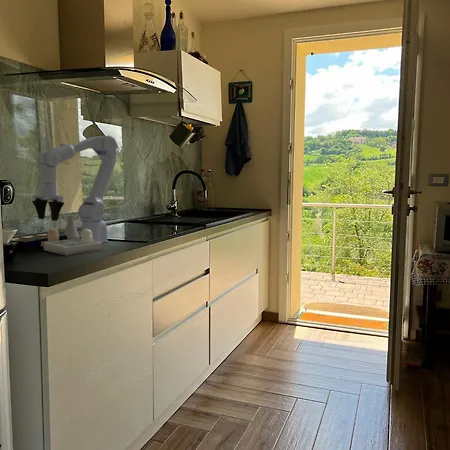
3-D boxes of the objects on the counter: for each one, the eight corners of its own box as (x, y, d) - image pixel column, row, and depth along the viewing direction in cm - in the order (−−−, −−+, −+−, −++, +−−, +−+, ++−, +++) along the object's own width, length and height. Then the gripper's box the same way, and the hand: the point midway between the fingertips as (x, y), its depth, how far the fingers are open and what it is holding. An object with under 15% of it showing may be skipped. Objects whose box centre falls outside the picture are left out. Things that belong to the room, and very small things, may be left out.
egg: (55, 244, 179) (55, 227, 178) (61, 246, 177) (60, 228, 176) (46, 245, 176) (45, 228, 175) (51, 247, 174) (51, 229, 173)
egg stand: (57, 243, 181) (57, 240, 181) (66, 245, 177) (66, 242, 177) (40, 245, 176) (40, 242, 176) (49, 248, 172) (49, 244, 171)
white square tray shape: (79, 245, 179) (79, 225, 178) (102, 250, 170) (102, 229, 169) (44, 250, 168) (43, 228, 167) (66, 255, 158) (65, 232, 157)
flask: (82, 237, 199) (81, 214, 198) (77, 239, 192) (76, 216, 191) (65, 237, 199) (64, 214, 198) (59, 239, 192) (59, 216, 191)
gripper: (26, 182, 170) (26, 218, 171) (51, 184, 162) (51, 221, 164) (42, 182, 176) (42, 217, 177) (67, 184, 168) (67, 220, 170)
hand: (48, 219), depth 171 cm, fingers open, 7 cm apart
